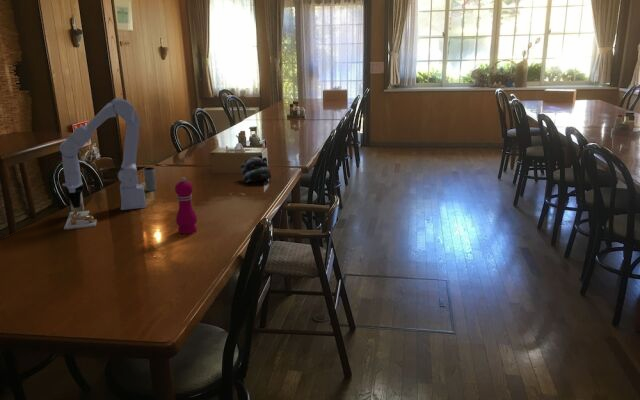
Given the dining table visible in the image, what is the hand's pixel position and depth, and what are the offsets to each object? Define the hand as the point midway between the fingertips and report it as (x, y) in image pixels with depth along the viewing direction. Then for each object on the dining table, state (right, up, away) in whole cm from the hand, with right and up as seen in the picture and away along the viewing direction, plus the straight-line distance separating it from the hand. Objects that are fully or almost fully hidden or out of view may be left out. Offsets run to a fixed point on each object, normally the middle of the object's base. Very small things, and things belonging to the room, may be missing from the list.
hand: (77, 205), depth 200 cm
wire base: (+6, -6, -8) cm, 12 cm away
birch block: (0, -2, +1) cm, 2 cm away
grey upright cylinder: (+17, +7, +35) cm, 40 cm away
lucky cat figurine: (+64, +11, +49) cm, 81 cm away
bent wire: (+6, -5, -8) cm, 11 cm away
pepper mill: (+48, -9, -18) cm, 52 cm away
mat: (0, -4, +1) cm, 4 cm away
